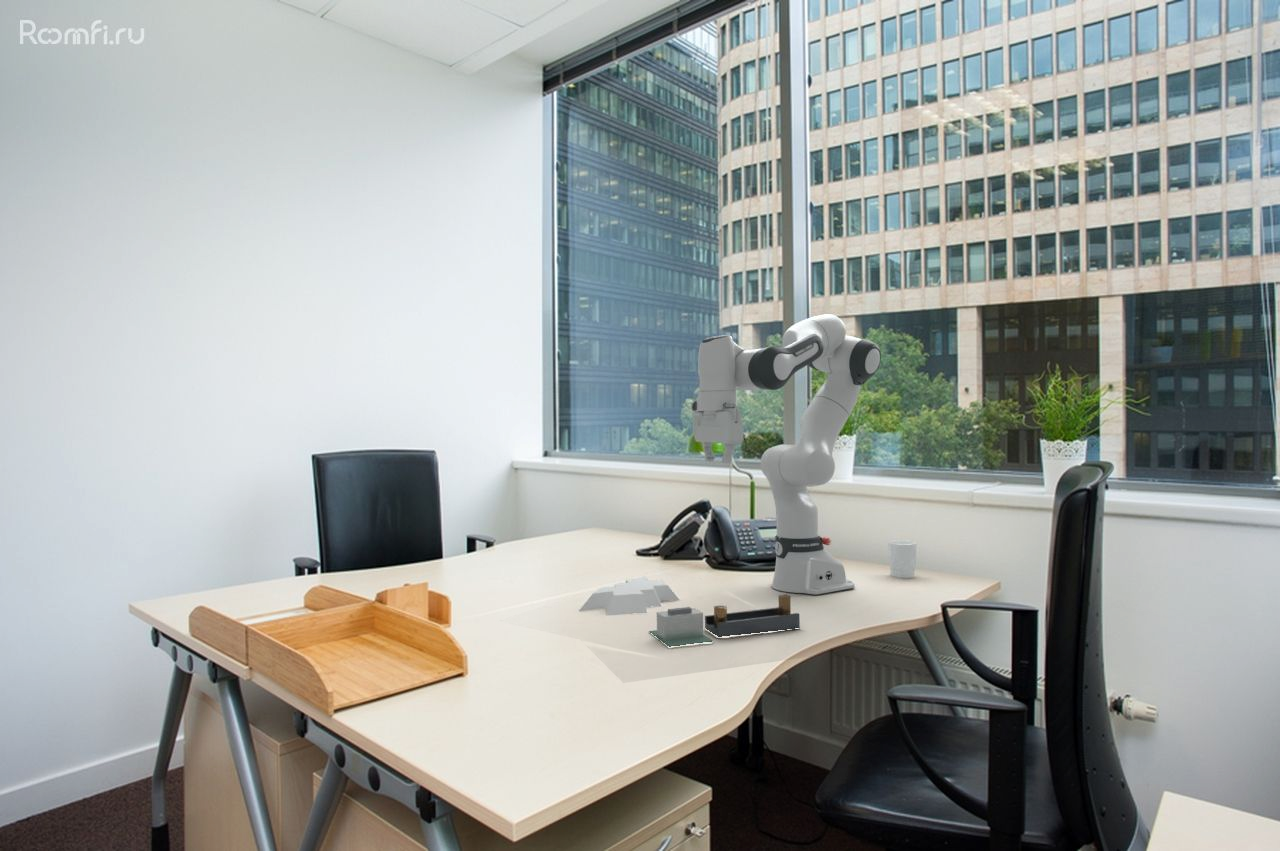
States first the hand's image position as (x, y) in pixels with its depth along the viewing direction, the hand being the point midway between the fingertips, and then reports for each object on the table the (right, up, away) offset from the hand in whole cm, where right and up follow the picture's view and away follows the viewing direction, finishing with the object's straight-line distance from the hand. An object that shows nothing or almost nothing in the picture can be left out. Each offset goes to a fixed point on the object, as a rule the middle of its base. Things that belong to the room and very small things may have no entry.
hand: (718, 462), depth 183 cm
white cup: (+58, -36, +44) cm, 81 cm away
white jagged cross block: (-20, -38, +15) cm, 45 cm away
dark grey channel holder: (+7, -37, -10) cm, 39 cm away
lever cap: (-10, -37, -16) cm, 41 cm away
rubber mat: (-10, -38, -16) cm, 42 cm away
